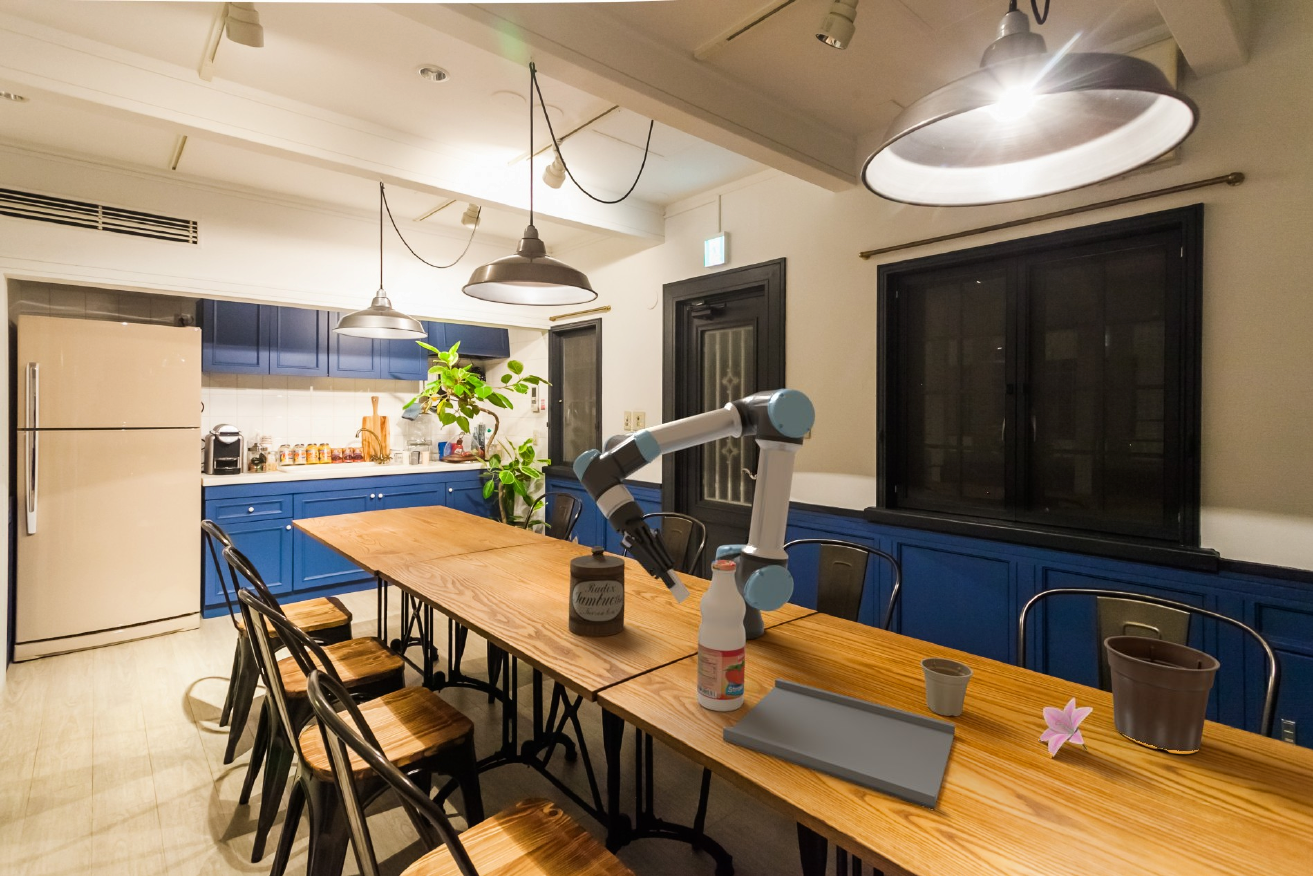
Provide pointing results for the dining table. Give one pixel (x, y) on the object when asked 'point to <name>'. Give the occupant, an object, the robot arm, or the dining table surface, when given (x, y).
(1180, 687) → the plant pot
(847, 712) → the gray tray
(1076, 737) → the lily
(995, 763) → the dining table surface
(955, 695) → the flower pot
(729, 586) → the fruit juice
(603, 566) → the wooden container
